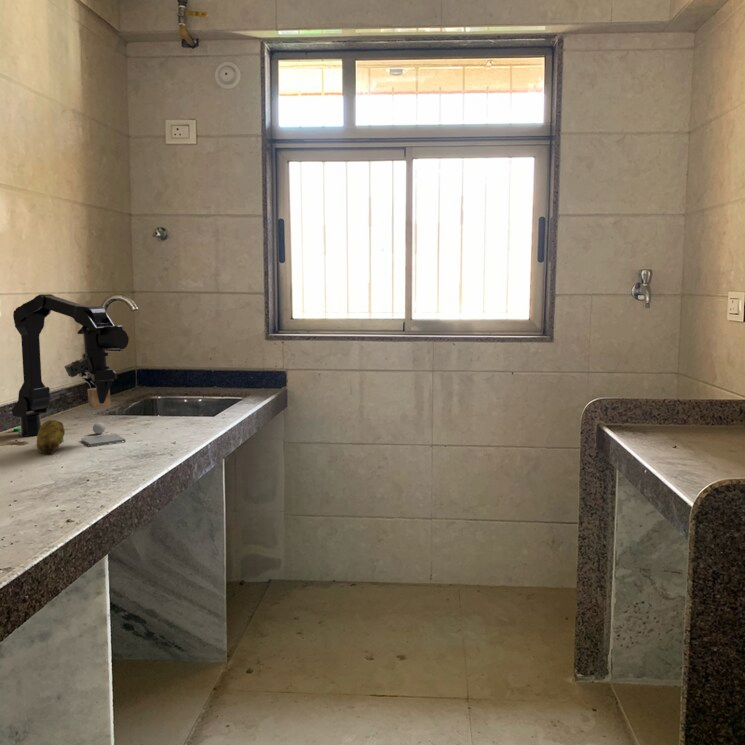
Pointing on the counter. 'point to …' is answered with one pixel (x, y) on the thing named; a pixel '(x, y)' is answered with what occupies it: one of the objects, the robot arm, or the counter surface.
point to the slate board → (102, 439)
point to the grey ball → (98, 428)
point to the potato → (50, 436)
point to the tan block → (97, 399)
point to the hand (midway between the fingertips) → (99, 402)
